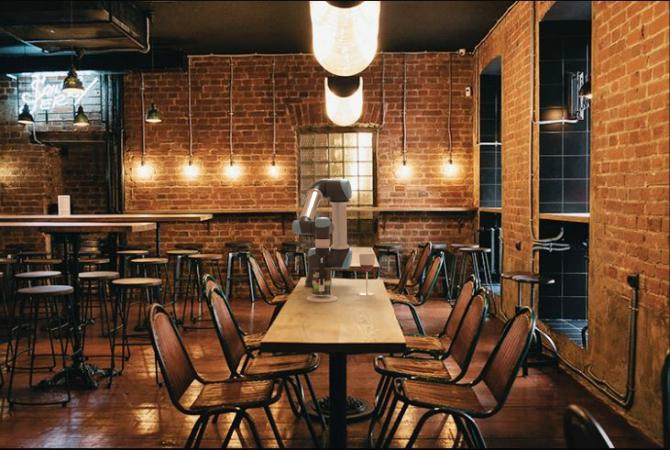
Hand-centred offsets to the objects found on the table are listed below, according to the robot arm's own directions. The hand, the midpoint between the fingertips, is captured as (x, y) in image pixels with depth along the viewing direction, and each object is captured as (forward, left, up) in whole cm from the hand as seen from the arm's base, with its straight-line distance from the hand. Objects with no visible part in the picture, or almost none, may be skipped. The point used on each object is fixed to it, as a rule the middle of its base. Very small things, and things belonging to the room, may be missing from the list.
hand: (322, 289), depth 313 cm
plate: (0, 0, -5) cm, 5 cm away
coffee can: (0, 0, -3) cm, 3 cm away
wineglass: (-20, +24, -6) cm, 32 cm away
